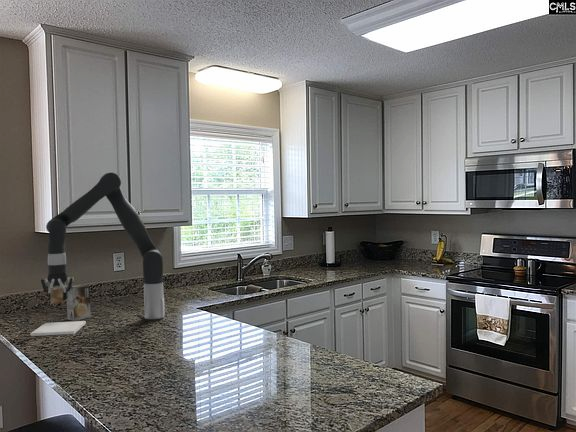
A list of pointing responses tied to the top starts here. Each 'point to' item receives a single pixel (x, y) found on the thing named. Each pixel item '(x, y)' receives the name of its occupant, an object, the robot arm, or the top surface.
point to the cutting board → (58, 328)
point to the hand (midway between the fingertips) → (58, 300)
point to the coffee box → (79, 303)
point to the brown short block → (56, 295)
